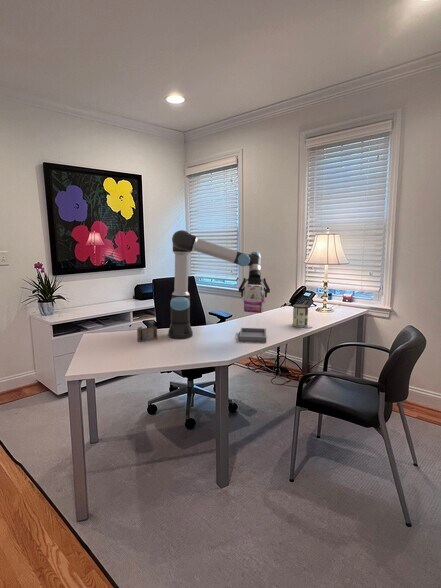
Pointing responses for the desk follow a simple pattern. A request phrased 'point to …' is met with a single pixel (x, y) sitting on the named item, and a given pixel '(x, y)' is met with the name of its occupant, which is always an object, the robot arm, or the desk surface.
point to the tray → (252, 335)
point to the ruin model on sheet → (146, 334)
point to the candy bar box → (253, 298)
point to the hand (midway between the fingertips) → (253, 301)
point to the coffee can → (300, 315)
